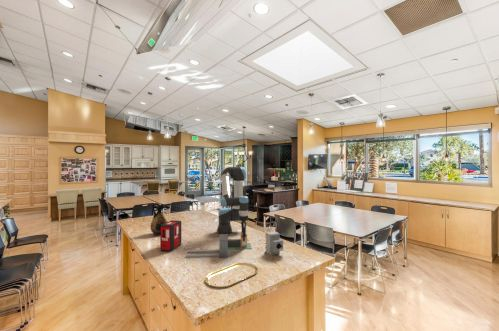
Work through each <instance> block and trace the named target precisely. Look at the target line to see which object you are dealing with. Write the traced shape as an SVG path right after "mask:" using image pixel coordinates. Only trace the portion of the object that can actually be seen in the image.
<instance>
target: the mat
mask: <svg viewBox="0 0 499 331" xmlns="http://www.w3.org/2000/svg"><path fill="white" fill-rule="evenodd" d="M252 249H253V248H252V245H251V243H249V242H247V247H228V251H230V250H233V251H234V250H252Z"/></svg>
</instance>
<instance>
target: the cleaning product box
mask: <svg viewBox="0 0 499 331" xmlns="http://www.w3.org/2000/svg"><path fill="white" fill-rule="evenodd" d="M159 236H160V237H159V238H160V239H159V240H160V242H159V243H160V249H159V250H160V252H162V253H172V252H174V251H175V250H177V249H178V248H179V247H181V246H182V220H169V221H167V223H165V224H162V225H160V235H159Z"/></svg>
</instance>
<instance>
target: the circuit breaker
mask: <svg viewBox="0 0 499 331" xmlns="http://www.w3.org/2000/svg"><path fill="white" fill-rule="evenodd" d="M264 250H265V253H266V254H268V255H270V256H274V255H279V254H281V253H280V252H283V251H284V240H283V239H282V238H281V237H280V233H279V232H277V231H274V230H272V231H265V249H264Z"/></svg>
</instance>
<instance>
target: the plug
mask: <svg viewBox="0 0 499 331" xmlns="http://www.w3.org/2000/svg"><path fill="white" fill-rule="evenodd" d="M249 240H250V239H249V238H248V233H247V232H246V245H242V232H240V238H237V239H233V238H232V239H230V238H228V247H247V243H248V242H249Z"/></svg>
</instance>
